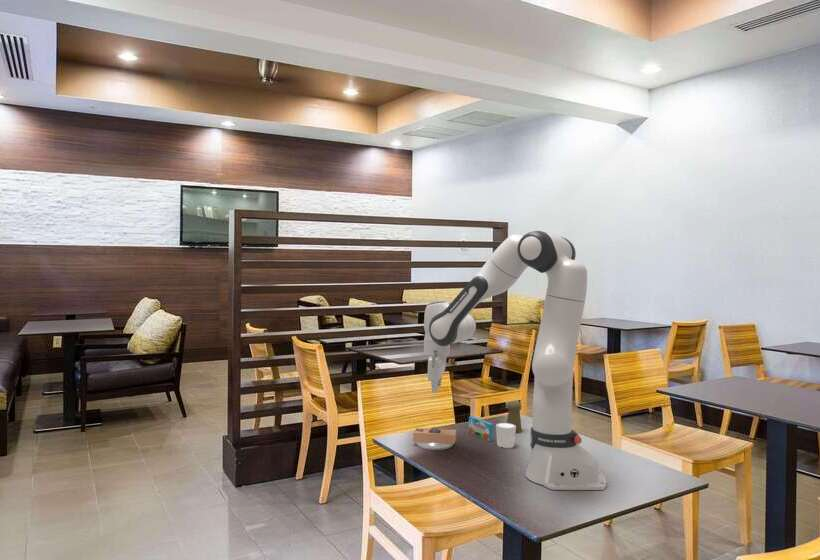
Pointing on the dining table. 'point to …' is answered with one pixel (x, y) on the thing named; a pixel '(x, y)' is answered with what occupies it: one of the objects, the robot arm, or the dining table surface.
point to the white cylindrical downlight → (505, 435)
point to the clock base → (433, 445)
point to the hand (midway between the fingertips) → (436, 389)
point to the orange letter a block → (434, 436)
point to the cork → (514, 415)
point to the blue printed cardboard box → (480, 428)
